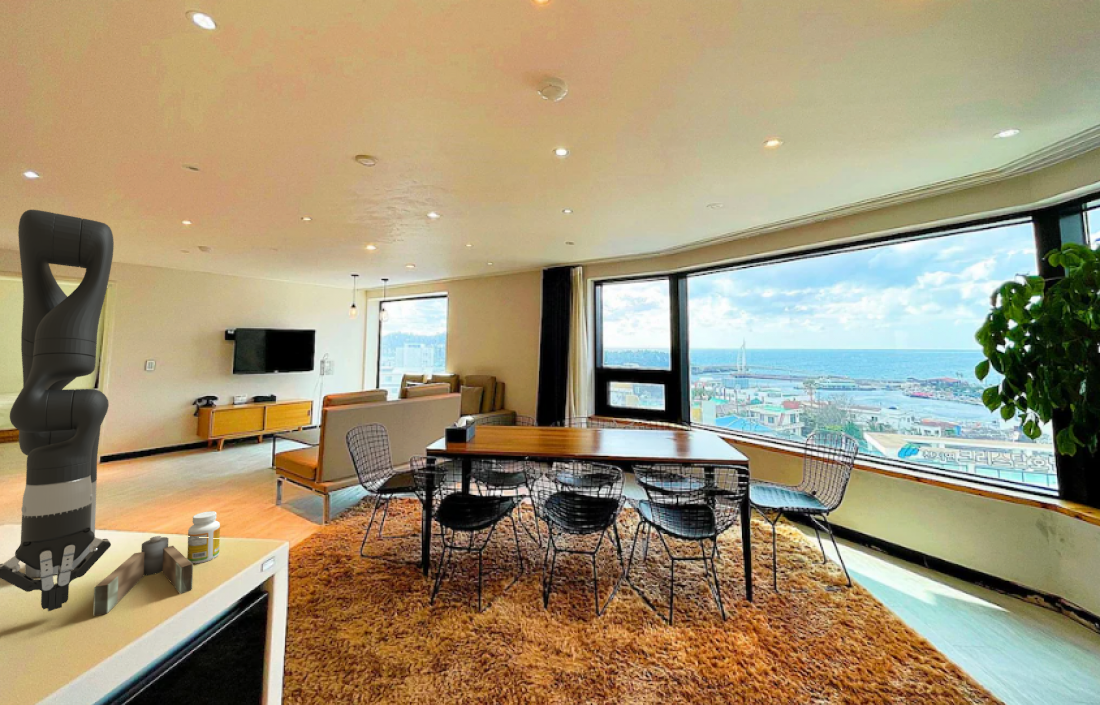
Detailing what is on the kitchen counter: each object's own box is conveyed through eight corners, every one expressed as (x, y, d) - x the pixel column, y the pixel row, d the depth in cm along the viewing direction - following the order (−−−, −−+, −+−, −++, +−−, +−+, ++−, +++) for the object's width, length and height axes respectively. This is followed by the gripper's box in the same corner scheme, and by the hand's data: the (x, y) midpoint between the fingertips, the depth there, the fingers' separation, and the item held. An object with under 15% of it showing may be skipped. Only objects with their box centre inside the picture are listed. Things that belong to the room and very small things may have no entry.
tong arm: (132, 578, 80) (133, 553, 80) (144, 576, 80) (145, 551, 81) (93, 616, 68) (94, 586, 68) (107, 613, 69) (108, 584, 69)
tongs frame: (138, 571, 82) (139, 538, 83) (167, 562, 86) (168, 531, 86) (160, 600, 73) (162, 563, 73) (192, 589, 76) (193, 554, 76)
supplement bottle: (211, 550, 92) (212, 508, 92) (224, 555, 90) (225, 512, 90) (182, 560, 87) (183, 516, 87) (194, 566, 85) (196, 520, 85)
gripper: (111, 491, 75) (108, 583, 75) (-9, 512, 65) (-14, 620, 64) (119, 499, 71) (115, 597, 71) (-8, 523, 60) (-14, 639, 60)
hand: (54, 607), depth 67 cm, fingers closed
